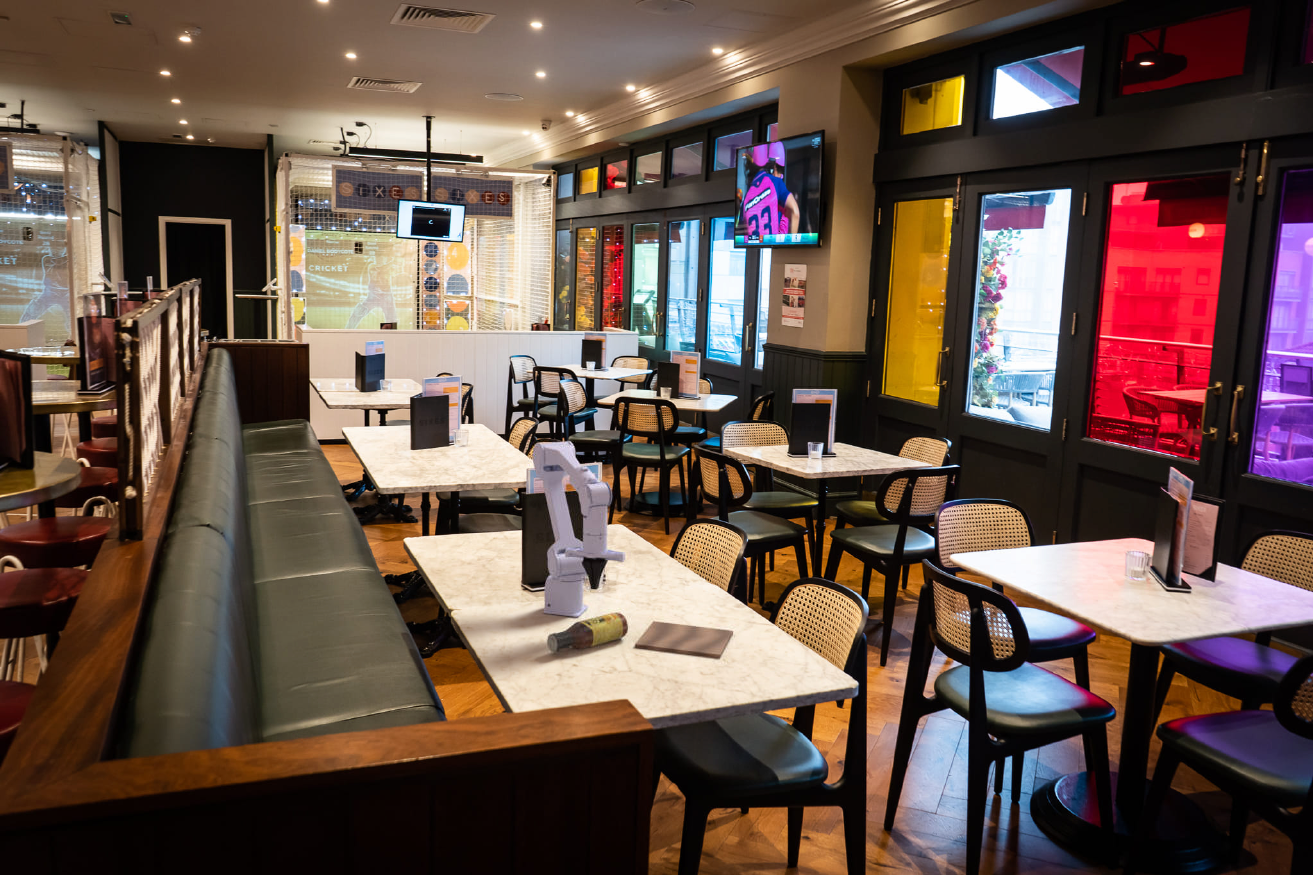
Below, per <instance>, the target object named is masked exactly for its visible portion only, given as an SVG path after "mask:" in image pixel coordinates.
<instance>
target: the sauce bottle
mask: <svg viewBox="0 0 1313 875" xmlns="http://www.w3.org/2000/svg"><path fill="white" fill-rule="evenodd" d="M628 631H629V625H628V621H627V618H626V616H624V614H622V613H621V612H612V613H607V614H603V615H599V616H594V617H591V618H587V619H584V620H579V621H576V622H575V623H573V624H572V625H571V626H570V627H568V628H567V629H565V630H562V631H561V632H553V633H549V635H548V636H547V639H546V640H547V641H546V643H547V646H548V649H549V650H550V651H551V652H552V653H553V652H554V653H556V652H559V651H561V650H563V649H568V648H572V649H575V650H583V649H586V648H591V647H596V646H598V645H602V644H605V643H609V642H612V641H617V640H619V639H622V638H624V637H626V635H627V633H628Z"/></svg>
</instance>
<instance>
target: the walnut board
mask: <svg viewBox="0 0 1313 875" xmlns="http://www.w3.org/2000/svg"><path fill="white" fill-rule="evenodd" d="M733 635H734V630H730V629H729V630H728V629H721V628H712V627H705V626H696V625H688V624H680V623H671V622H663V621H655V620H653V621H652V622H651V624H650V625H649V626H648V628H647V629H646V630H645V631H644V632H643V633H642V635H641V636H640V637H639V638H638V640H637V641H636V642H635V643H634V647H635V648H637V649H647V650H653V651H662V652H671V653H677V654H683V655H684V654H685V655H692V656H698V657H699V656H700V657H707V658H708V657H709V658H714V659H721V658H722V656H723V653H724V652H725V650H726V648H727V647H728V645H729V642H730V641H731V639H732V637H733Z"/></svg>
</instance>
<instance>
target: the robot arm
mask: <svg viewBox="0 0 1313 875" xmlns="http://www.w3.org/2000/svg"><path fill="white" fill-rule="evenodd" d="M532 463H533V466H534V471H535V476H536V478H538V479H540V480H542V484H543V489H544V495H545V499H546V502H547V508H548V512H549V518H550V521H551V522H550V523H551V528H552V531H553V537H554V541H555V542H554V543H553V544H551V546H550V547H549V548H548V549H547V552H546V554H547V555H546V556H547V568H548V572H549V575H548V576H547V578H546V581H545V584H544V606H543V607H544V608H543V612H542V613H544V614H550V615H557V616H566V617H575V618H579V617H580V616H581V615H582V614H583V613H584V612H585V611H586V610H587V609H588V608H589V605H586V604H585V605H584V579H586V578H588V582H589V585H590V590H598V589H599V588H600V582H601V577H602V575H603V572H604V570H605V567H606V565H607V564H608V561H613V562H619V563H624V562H625V560H626V552H624V551H616V550H612V549H608V507H609V506H610V505H611V504H612V500H613V492H612V488H611V485H610V484H609V482H608V481H600V479H599V480H598V478H597V477H596V476H595V474H594V473H593V472H592V471H591V470H590V469H589V467H588V466H582V465H581V463H580V462H579V461H578V459H577V457H576V448H575V446H574V443H572V441H570V440H566V441H557V442H556V441H555V442H554V441H553V442H536V443H535V444H534V447H533V448H532ZM567 476H569V478H568V480H569V483H570V485H571V486H572V487H573V489H574V490H575V491H576V493H577V494H578V500H579V503H580V512H581V515H582V516H583V517H582V518H583V520H582V522H583V523H582V525H583V526H582V527H583V528H582V541H581V540H580V539H578V538H576V537H575V533H574V529H573V525H572V519H571V516H570V510H569V505H568V502H567V497H566V493H565V489H564V483H563V478H566V477H567Z"/></svg>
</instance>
